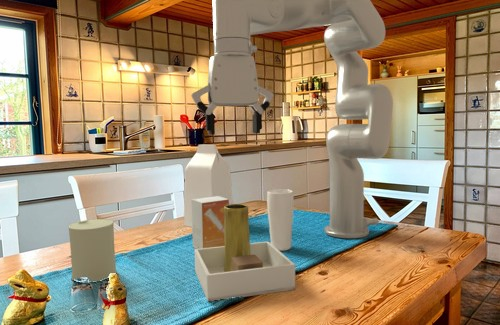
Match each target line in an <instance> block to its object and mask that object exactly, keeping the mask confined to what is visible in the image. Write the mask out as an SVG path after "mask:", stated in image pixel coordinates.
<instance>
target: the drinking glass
mask: <svg viewBox="0 0 500 325" xmlns="http://www.w3.org/2000/svg"><path fill="white" fill-rule="evenodd" d="M294 201H295V200H294V191H293V190H291V189H282V188H281V189H280V188H278V189H276V188H275V189H269V190H267V192H266V207H267V217H268V228H269V237H270V243H271V244H272V245H273V246H274V247H275V248H276V249H278V250H279V251H280V252H284V251H288V250H290V249H291V248H292V233H293V220H294V208H295V207H294V205H295V204H294Z"/></svg>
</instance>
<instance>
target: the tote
mask: <svg viewBox="0 0 500 325" xmlns="http://www.w3.org/2000/svg"><path fill="white" fill-rule="evenodd" d="M250 251H251V255H256V256H257V257H258V258H259V259H260V260H261V261H262V262H263V267H262V268H254V269H246V270H238V271H230V272H224V263H225V261H224V260H225V246H221V247H211V248H202V249H196V248H194V271H195V275H196V276H197V279H198V282H199V284H200V286H201V289H202V291H203V293H204V295H205V296H204V297H205V298H206V300H207V302H208V303H210V302H209V301H211V302H215V301H214V300H218V301H221V300H220V299H225V300H227V299H226V298H232V297H239V296H240V297H239V298H245V297H251V296H252V297H253V296H258V295H260V296H261V295H266V294H267V295H268V294H273V293H281V292H287V291H294V290H296V263H294V262H293V261H292V260H290V259H289V258H288V257H287V256H286V255H284V253H282V251H279V250H278V249H276V248H275V247H274V246H273V245H272V244H271V242H269V241H261V242H258V241H257V242H252V243H251V242H250ZM241 296H242V297H241ZM232 299H233V298H232Z"/></svg>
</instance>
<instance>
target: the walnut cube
mask: <svg viewBox="0 0 500 325" xmlns="http://www.w3.org/2000/svg"><path fill="white" fill-rule="evenodd" d="M231 262H232V271H238V270H246V269H254V268H262V267H263V262H262V261H261V260H260V259H259V258H258V257H257V256H256V255H247V256H238V257H231Z"/></svg>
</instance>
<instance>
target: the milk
mask: <svg viewBox="0 0 500 325" xmlns="http://www.w3.org/2000/svg"><path fill="white" fill-rule="evenodd" d="M231 173H232V172H231V167H230V165H229V163H228V162H227V161H226V160H225V159H224V157H222V155H221V154H220V152H219V150H218V148H217V145H216V144H198V145H197V149H196V152H195V153H194V155H193V156H192V158H191V159H190V160H189V162H188V163H187V165H186V166H185V170H184V190H183V191H184V192H183V193H184V196H183V198H184V200H183V204H184V205H183V226H184V227H189V228H192V202H191V200H192V199H200V198H206V197H215V196H219V197H223V198H226V199H229V205H230V204H234V200H233V198H234V197H233V186H232V174H231Z"/></svg>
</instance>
